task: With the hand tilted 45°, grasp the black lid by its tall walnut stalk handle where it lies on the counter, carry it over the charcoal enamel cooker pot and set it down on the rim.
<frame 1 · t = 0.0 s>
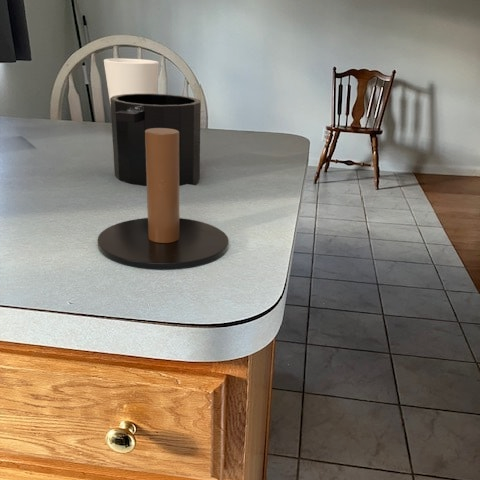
cup: (134, 134, 104), on the table
pot: (158, 179, 76), on the table
lid: (164, 243, 53), point 1 cm above the table
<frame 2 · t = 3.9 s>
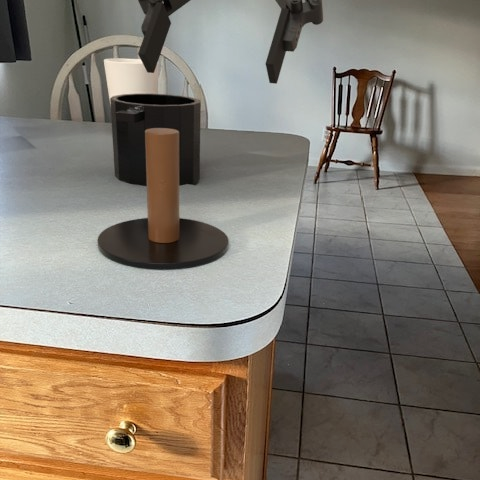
hand: (206, 69, 55), 16 cm above the table, tool tilted 45°, fingers open, 13 cm apart
nothing on the table moved.
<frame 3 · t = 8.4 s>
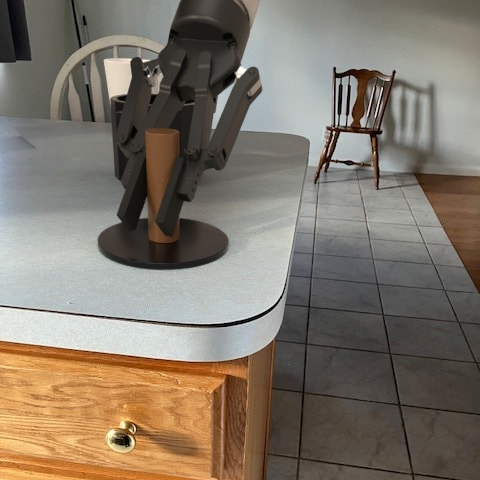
hand: (144, 225, 48), 4 cm above the table, tool tilted 45°, fingers closed on lid, 3 cm apart
lid: (164, 243, 53), point 1 cm above the table, touching gripper
everything else where it was.
when the fingers open (14 cm above the table, at t = 16.2 s): lid stays where it is, resting on pot.
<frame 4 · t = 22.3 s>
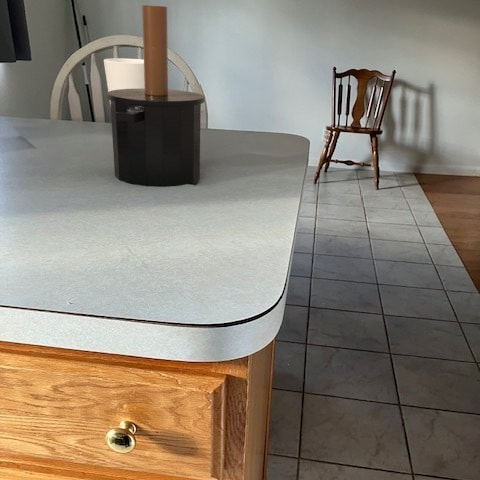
lid: (156, 99, 71), point 10 cm above the table, touching pot
everything else where it was.
at the end: lid 0.0 cm off-centre on the pot, point 10.5 cm above the pot's base; lid tilted 0° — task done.
